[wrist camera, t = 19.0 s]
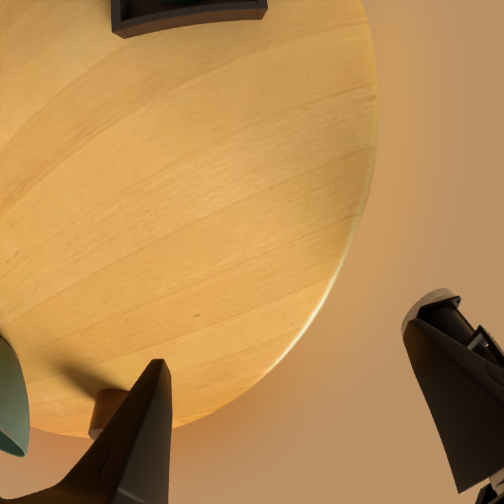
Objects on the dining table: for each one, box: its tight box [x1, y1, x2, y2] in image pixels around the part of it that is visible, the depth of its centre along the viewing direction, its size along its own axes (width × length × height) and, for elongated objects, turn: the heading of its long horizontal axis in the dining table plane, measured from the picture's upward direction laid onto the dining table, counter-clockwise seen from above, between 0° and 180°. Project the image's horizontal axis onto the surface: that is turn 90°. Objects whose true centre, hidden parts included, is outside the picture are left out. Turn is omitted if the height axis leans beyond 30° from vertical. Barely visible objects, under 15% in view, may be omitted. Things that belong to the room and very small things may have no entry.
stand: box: [88, 389, 129, 441], centre depth 29 cm, size 7×7×6 cm
